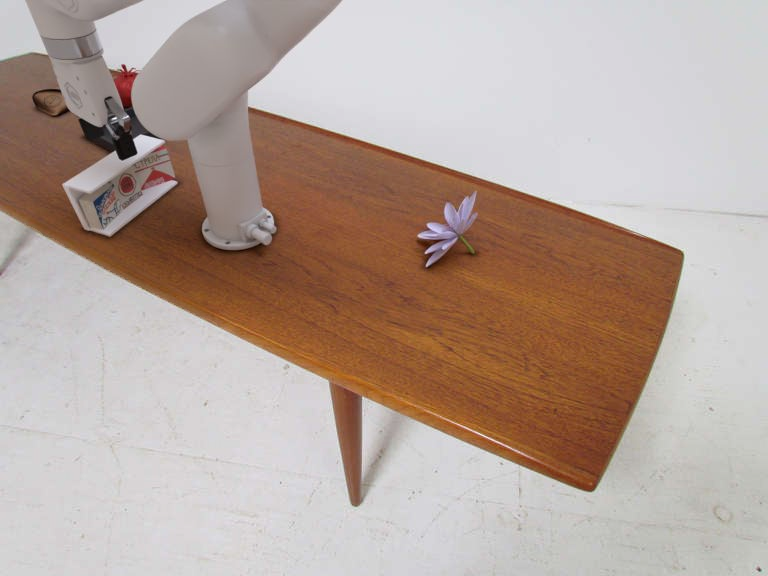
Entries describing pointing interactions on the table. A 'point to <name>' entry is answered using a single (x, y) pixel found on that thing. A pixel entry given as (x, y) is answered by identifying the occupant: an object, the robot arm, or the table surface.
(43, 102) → the sunglasses case
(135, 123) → the tray
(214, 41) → the robot arm
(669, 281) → the table surface
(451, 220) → the water lily
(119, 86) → the pomegranate
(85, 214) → the cigarette display
